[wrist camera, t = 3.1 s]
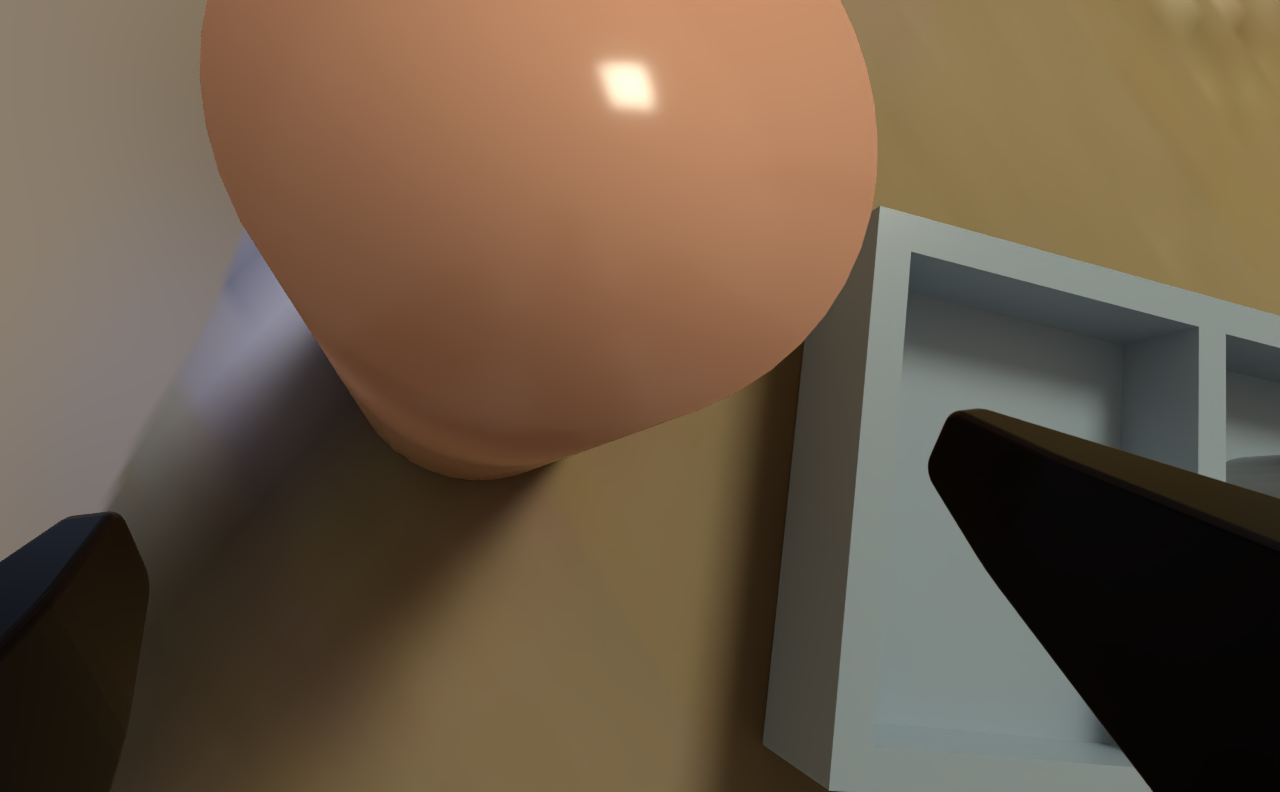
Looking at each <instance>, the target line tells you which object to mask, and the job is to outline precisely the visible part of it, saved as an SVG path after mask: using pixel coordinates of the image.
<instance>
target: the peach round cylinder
mask: <svg viewBox="0 0 1280 792" xmlns="http://www.w3.org/2000/svg"><path fill="white" fill-rule="evenodd" d="M200 63H201V64H200V83H201V91H202V99H203V106H204V114H205V122H206V128H207V131H208V135H209V139H210V142H211V146H212V149H213V153H214V156H215V160H216V163H217V167H218V171H219V174H220V176H221V179H222V181H223V183H224V185H225V188H226V190H227V192H228V194H229V197H230V199H231V201H232V203H233V206H234V208H235V210H236V212H237V215H238V217H239V219H240V221H241V223H242V224H243V226H244V228H245V229H246V231H247V232H248V234H249V236H250V237H251V239H252V240H253V242H254V244H255V245H256V247H257V248H258V250H259V252H260V253H261V255H262V256H263V258H264V260H265V261H266V263H267V264H268V266H269V267H270V269H271V271H272V272H273V274H274V275H275V277H276V278H277V280H278V282H279V283H280V285H281V286H282V288H283V289H284V291H285V292H286V294H287V296H288V297H289V299H290V300H291V302H292V303H293V305H294V306H295V308H296V310H297V311H298V313H299V314H300V316H301V317H302V319H303V321H304V322H305V324H306V325H307V327H308V328H309V330H310V331H311V333H312V335H313V336H314V338H315V339H316V341H317V342H318V344H319V346H320V347H321V349H322V350H323V352H324V353H325V355H326V356H327V358H328V360H329V361H330V363H331V364H332V366H333V367H334V369H335V370H336V372H337V374H338V375H339V377H340V378H341V380H342V381H343V383H344V385H345V386H346V388H347V389H348V391H349V392H350V394H351V395H352V397H353V399H354V400H355V402H356V403H357V405H358V406H359V408H360V410H361V411H362V413H363V414H364V416H365V417H366V419H367V420H368V422H369V424H370V425H371V426H372V428H373V429H374V430H375V431H376V432H377V434H378V435H379V436H380V437H381V438H382V439H383V440H384V441H385V442H386V443H387V444H388V445H389V446H390V447H391V448H392V449H394V450H395V451H396V452H397V453H399V454H400V455H402V456H403V457H405V458H406V459H407V460H409V461H411V462H413V463H415V464H416V465H418V466H420V467H422V468H424V469H426V470H429V471H432V472H435V473H438V474H440V475H444V476H448V477H453V478H457V479H466V480H495V479H501V478H507V477H512V476H515V475H518V474H522V473H525V472H528V471H531V470H533V469H536V468H539V467H542V466H545V465H547V464H550V463H553V462H556V461H558V460H561V459H564V458H567V457H569V456H572V455H575V454H578V453H581V452H583V451H586V450H589V449H592V448H594V447H597V446H600V445H603V444H605V443H608V442H611V441H614V440H617V439H619V438H622V437H625V436H628V435H630V434H633V433H636V432H639V431H641V430H644V429H647V428H650V427H653V426H655V425H658V424H661V423H664V422H666V421H669V420H672V419H675V418H677V417H680V416H683V415H686V414H689V413H691V412H694V411H697V410H700V409H702V408H704V407H706V406H708V405H711V404H713V403H715V402H717V401H719V400H721V399H723V398H726V397H728V396H730V395H732V394H734V393H736V392H738V391H740V390H741V389H743V388H745V387H746V386H748V385H749V384H751V383H752V382H754V381H755V380H757V379H758V378H760V377H761V376H763V375H764V374H766V373H767V372H769V371H770V370H772V369H773V368H774V367H775V366H776V365H778V364H779V363H780V362H781V361H782V360H783V359H784V358H786V357H787V356H788V355H789V354H790V353H791V352H792V351H793V350H795V349H796V348H797V347H798V346H799V345H800V344H801V343H802V342H803V341H804V340H805V339H806V337H807V336H808V335H809V334H810V333H811V331H812V330H813V329H814V328H815V327H816V326H817V324H818V323H819V322H820V321H821V320H822V319H823V317H824V316H825V315H826V313H827V312H828V310H829V309H830V307H831V305H832V304H833V302H834V301H835V299H836V298H837V296H838V294H839V293H840V291H841V290H842V288H843V286H844V285H845V283H846V281H847V279H848V277H849V274H850V272H851V270H852V268H853V265H854V263H855V261H856V259H857V256H858V254H859V252H860V250H861V247H862V243H863V240H864V236H865V233H866V230H867V226H868V223H869V219H870V216H871V211H872V205H873V199H874V192H875V186H876V179H877V150H878V137H877V127H876V117H875V106H874V100H873V95H872V90H871V86H870V81H869V77H868V72H867V67H866V64H865V61H864V58H863V55H862V52H861V49H860V46H859V43H858V40H857V37H856V34H855V31H854V29H853V26H852V24H851V22H850V20H849V18H848V16H847V14H846V11H845V9H844V7H843V5H842V3H841V1H840V0H207V5H206V10H205V15H204V21H203V26H202V31H201V62H200Z"/></svg>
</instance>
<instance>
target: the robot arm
mask: <svg viewBox="0 0 1280 792" xmlns="http://www.w3.org/2000/svg"><path fill="white" fill-rule="evenodd" d="M928 474H929V477H930V480H931V482H932V484H933V486H934V487H935V489H936V491H937V492H938V494H939V496H940V497H941V499H942V501H943V502H944V504H945V505H946V507H947V509H948V510H949V512H950V514H951V515H952V517H953V519H954V520H955V522H956V523H957V525H958V527H959V528H960V530H961V532H962V533H963V535H964V537H965V538H966V540H967V541H968V543H969V545H970V546H971V548H972V550H973V551H974V553H975V554H976V556H977V558H978V559H979V561H980V562H981V564H982V565H983V567H984V568H985V570H986V571H987V573H988V574H989V576H990V577H991V578H992V580H993V581H994V583H995V584H996V585H997V587H998V588H999V589H1000V591H1001V592H1002V593H1003V595H1004V596H1005V597H1006V599H1007V600H1008V601H1009V603H1010V604H1011V605H1012V607H1013V608H1014V609H1015V611H1016V612H1017V613H1018V614H1019V616H1020V617H1021V618H1022V620H1023V621H1024V622H1025V624H1026V625H1027V626H1028V628H1029V629H1030V630H1031V632H1032V633H1033V634H1034V636H1035V637H1036V638H1037V640H1038V641H1039V642H1040V644H1041V645H1042V646H1043V648H1044V649H1045V650H1046V651H1047V653H1048V654H1049V655H1050V657H1051V658H1052V659H1053V661H1054V662H1055V663H1056V665H1057V666H1058V667H1059V669H1060V670H1061V671H1062V673H1063V674H1064V675H1065V677H1066V678H1067V679H1068V681H1069V682H1070V683H1071V684H1072V686H1073V687H1074V688H1075V690H1076V691H1077V692H1078V694H1079V695H1080V696H1081V698H1082V699H1083V700H1084V702H1085V703H1086V704H1087V706H1088V707H1089V708H1090V710H1091V711H1092V712H1093V714H1094V715H1095V716H1096V718H1097V719H1098V720H1099V721H1100V723H1101V724H1102V725H1103V727H1104V728H1105V729H1106V731H1107V732H1108V733H1109V735H1110V736H1111V737H1112V739H1113V740H1114V741H1115V743H1116V744H1117V745H1118V747H1119V748H1120V749H1121V751H1122V752H1123V753H1124V755H1125V756H1126V757H1127V758H1128V760H1129V761H1130V762H1131V764H1132V765H1133V766H1134V768H1135V769H1136V770H1137V772H1138V773H1139V774H1140V776H1141V777H1142V778H1143V780H1144V781H1145V782H1146V784H1147V785H1148V786H1149V788H1150V789H1151V790H1152V792H1280V499H1279V498H1276V497H1273V496H1270V495H1266V494H1263V493H1260V492H1256V491H1253V490H1250V489H1247V488H1243V487H1240V486H1237V485H1233V484H1230V483H1227V482H1224V481H1220V480H1217V479H1214V478H1210V477H1207V476H1204V475H1201V474H1197V473H1194V472H1191V471H1188V470H1184V469H1181V468H1178V467H1174V466H1171V465H1168V464H1165V463H1161V462H1158V461H1155V460H1151V459H1148V458H1145V457H1142V456H1138V455H1135V454H1132V453H1128V452H1125V451H1122V450H1119V449H1115V448H1112V447H1109V446H1105V445H1102V444H1099V443H1096V442H1092V441H1089V440H1086V439H1082V438H1079V437H1076V436H1073V435H1069V434H1066V433H1063V432H1060V431H1056V430H1053V429H1050V428H1046V427H1043V426H1040V425H1037V424H1033V423H1030V422H1027V421H1023V420H1020V419H1017V418H1014V417H1010V416H1007V415H1004V414H1000V413H997V412H994V411H991V410H987V409H981V408H975V409H967V410H959V411H955V412H953V413H951V414H950V415H949V416H948V417H947V419H946V421H945V423H944V425H943V427H942V430H941V432H940V434H939V436H938V439H937V441H936V443H935V446H934V448H933V450H932V452H931V455H930V457H929V460H928ZM148 600H149V579H148V574H147V570H146V567H145V565H144V562H143V560H142V558H141V556H140V553H139V551H138V549H137V547H136V544H135V542H134V540H133V537H132V535H131V533H130V531H129V528H128V526H127V524H126V522H125V520H124V519H123V518H122V516H121V515H120V514H117V513H115V512H101V513H93V514H84V515H76V516H71V517H68V518H66V519H63V520H61V521H60V522H58V523H57V524H55V525H54V526H53V527H51V528H49V529H48V530H46V531H45V532H44V533H42V534H41V535H39V536H38V537H36V538H35V539H33V540H32V541H30V542H29V543H27V544H26V545H24V546H23V547H21V548H20V549H18V550H17V551H16V552H14V553H13V554H11V555H10V556H8V557H7V558H5V559H4V560H2V561H1V562H0V792H110V790H111V786H112V783H113V780H114V776H115V773H116V770H117V767H118V763H119V760H120V756H121V752H122V749H123V745H124V741H125V737H126V733H127V728H128V723H129V718H130V712H131V706H132V700H133V694H134V687H135V681H136V675H137V669H138V662H139V656H140V650H141V644H142V638H143V631H144V625H145V619H146V613H147V606H148Z"/></svg>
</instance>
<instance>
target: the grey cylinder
mask: <svg viewBox="0 0 1280 792" xmlns="http://www.w3.org/2000/svg"><path fill="white" fill-rule="evenodd" d="M1226 482H1227V483H1230V484H1233V485H1237V486H1240V487H1243V488H1247V489H1250V490H1253V491H1256V492H1260V493H1263V494H1266V495H1270V496H1273V497H1276V498H1279V499H1280V455H1268V456H1252V457H1240V458H1236V459H1231V460H1229V461H1227V462H1226Z"/></svg>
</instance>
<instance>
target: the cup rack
mask: <svg viewBox="0 0 1280 792" xmlns="http://www.w3.org/2000/svg"><path fill="white" fill-rule="evenodd" d="M975 408H981V409H987V410H991V411H994V412H997V413H1000V414H1004V415H1007V416H1010V417H1014V418H1017V419H1020V420H1023V421H1027V422H1030V423H1033V424H1037V425H1040V426H1043V427H1046V428H1050V429H1053V430H1056V431H1060V432H1063V433H1066V434H1069V435H1073V436H1076V437H1079V438H1082V439H1086V440H1089V441H1092V442H1096V443H1099V444H1102V445H1105V446H1109V447H1112V448H1115V449H1119V450H1122V451H1125V452H1128V453H1132V454H1135V455H1138V456H1142V457H1145V458H1148V459H1151V460H1155V461H1158V462H1161V463H1165V464H1168V465H1171V466H1174V467H1178V468H1181V469H1184V470H1188V471H1191V472H1194V473H1197V474H1201V475H1204V476H1207V477H1210V478H1214V479H1217V480H1220V481H1224V482H1226V462H1227V461H1229V460H1231V459H1236V458H1240V457H1252V456H1268V455H1280V316H1279V315H1275V314H1271V313H1268V312H1264V311H1260V310H1257V309H1253V308H1249V307H1246V306H1242V305H1239V304H1235V303H1231V302H1228V301H1224V300H1220V299H1217V298H1213V297H1210V296H1206V295H1202V294H1199V293H1195V292H1191V291H1188V290H1184V289H1180V288H1177V287H1173V286H1170V285H1166V284H1162V283H1159V282H1155V281H1151V280H1148V279H1144V278H1140V277H1137V276H1133V275H1130V274H1126V273H1122V272H1119V271H1115V270H1111V269H1108V268H1104V267H1100V266H1097V265H1093V264H1090V263H1086V262H1082V261H1079V260H1075V259H1071V258H1068V257H1064V256H1061V255H1057V254H1053V253H1050V252H1046V251H1042V250H1039V249H1035V248H1031V247H1028V246H1024V245H1021V244H1017V243H1013V242H1010V241H1006V240H1002V239H999V238H995V237H991V236H988V235H984V234H981V233H977V232H973V231H970V230H966V229H962V228H959V227H955V226H951V225H948V224H944V223H941V222H937V221H933V220H930V219H926V218H922V217H919V216H915V215H911V214H908V213H904V212H901V211H897V210H893V209H890V208H886V207H882V206H879V207H878V208H876V209H875V210H873V211H872V212H871V216H870V219H869V223H868V226H867V230H866V233H865V236H864V240H863V243H862V247H861V250H860V252H859V254H858V256H857V259H856V261H855V263H854V265H853V268H852V270H851V272H850V274H849V277H848V279H847V281H846V283H845V285H844V286H843V288H842V290H841V291H840V293H839V294H838V296H837V298H836V299H835V301H834V302H833V304H832V305H831V307H830V309H829V310H828V312H827V313H826V315H825V316H824V317H823V319H822V320H821V321H820V322H819V323H818V324H817V326H816V327H815V328H814V329H813V330H812V331H811V333H810V334H809V335H808V336H807V337H806V339H805V340H804V349H803V358H802V368H801V377H800V387H799V397H798V406H797V416H796V426H795V435H794V445H793V455H792V464H791V474H790V484H789V493H788V503H787V512H786V522H785V532H784V541H783V551H782V561H781V570H780V580H779V590H778V599H777V609H776V619H775V628H774V638H773V647H772V657H771V667H770V676H769V686H768V696H767V705H766V715H765V725H764V734H763V744H762V745H764V746H765V747H767V748H768V749H770V750H771V751H772V752H774V753H775V754H777V755H778V756H780V757H781V758H782V759H784V760H785V761H787V762H788V763H790V764H791V765H793V766H794V767H795V768H797V769H798V770H800V771H801V772H803V773H804V774H805V775H807V776H808V777H810V778H811V779H813V780H814V781H816V782H817V783H818V784H820V785H821V786H823V787H824V788H826V789H827V790H828V791H842V792H1152V790H1151V789H1150V788H1149V786H1148V785H1147V784H1146V782H1145V781H1144V780H1143V778H1142V777H1141V776H1140V774H1139V773H1138V772H1137V770H1136V769H1135V768H1134V766H1133V765H1132V764H1131V762H1130V761H1129V760H1128V758H1127V757H1126V756H1125V755H1124V753H1123V752H1122V751H1121V749H1120V748H1119V747H1118V745H1117V744H1116V743H1115V741H1114V740H1113V739H1112V737H1111V736H1110V735H1109V733H1108V732H1107V731H1106V729H1105V728H1104V727H1103V725H1102V724H1101V723H1100V721H1099V720H1098V719H1097V718H1096V716H1095V715H1094V714H1093V712H1092V711H1091V710H1090V708H1089V707H1088V706H1087V704H1086V703H1085V702H1084V700H1083V699H1082V698H1081V696H1080V695H1079V694H1078V692H1077V691H1076V690H1075V688H1074V687H1073V686H1072V684H1071V683H1070V682H1069V681H1068V679H1067V678H1066V677H1065V675H1064V674H1063V673H1062V671H1061V670H1060V669H1059V667H1058V666H1057V665H1056V663H1055V662H1054V661H1053V659H1052V658H1051V657H1050V655H1049V654H1048V653H1047V651H1046V650H1045V649H1044V648H1043V646H1042V645H1041V644H1040V642H1039V641H1038V640H1037V638H1036V637H1035V636H1034V634H1033V633H1032V632H1031V630H1030V629H1029V628H1028V626H1027V625H1026V624H1025V622H1024V621H1023V620H1022V618H1021V617H1020V616H1019V614H1018V613H1017V612H1016V611H1015V609H1014V608H1013V607H1012V605H1011V604H1010V603H1009V601H1008V600H1007V599H1006V597H1005V596H1004V595H1003V593H1002V592H1001V591H1000V589H999V588H998V587H997V585H996V584H995V583H994V581H993V580H992V578H991V577H990V576H989V574H988V573H987V571H986V570H985V568H984V567H983V565H982V564H981V562H980V561H979V559H978V558H977V556H976V554H975V553H974V551H973V550H972V548H971V546H970V545H969V543H968V541H967V540H966V538H965V537H964V535H963V533H962V532H961V530H960V528H959V527H958V525H957V523H956V522H955V520H954V519H953V517H952V515H951V514H950V512H949V510H948V509H947V507H946V505H945V504H944V502H943V501H942V499H941V497H940V496H939V494H938V492H937V491H936V489H935V487H934V486H933V484H932V482H931V480H930V477H929V474H928V460H929V457H930V455H931V452H932V450H933V448H934V446H935V443H936V441H937V439H938V436H939V434H940V432H941V430H942V427H943V425H944V423H945V421H946V419H947V417H948V416H949V415H950V414H951V413H953V412H955V411H959V410H967V409H975Z"/></svg>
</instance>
